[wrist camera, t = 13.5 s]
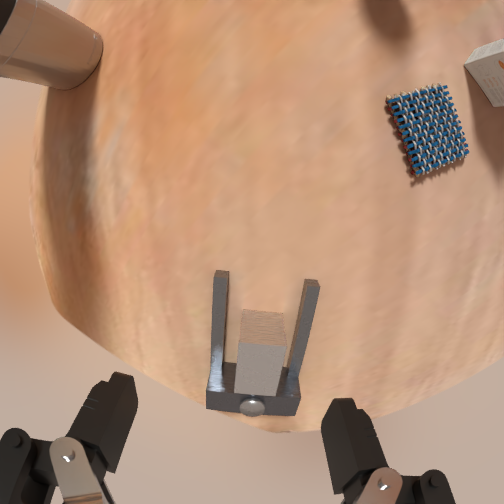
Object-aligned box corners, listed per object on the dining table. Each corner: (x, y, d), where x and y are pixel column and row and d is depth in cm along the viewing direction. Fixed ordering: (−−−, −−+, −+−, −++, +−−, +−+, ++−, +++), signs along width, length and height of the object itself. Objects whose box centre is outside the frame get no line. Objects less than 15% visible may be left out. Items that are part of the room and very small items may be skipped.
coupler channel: (212, 379, 39) (205, 413, 32) (216, 270, 33) (206, 296, 26) (291, 386, 39) (295, 420, 32) (317, 279, 33) (329, 307, 26)
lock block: (237, 359, 37) (233, 394, 31) (242, 308, 35) (238, 342, 28) (273, 362, 37) (274, 398, 31) (282, 312, 35) (286, 346, 28)
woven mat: (465, 155, 27) (474, 156, 26) (410, 179, 29) (418, 180, 27) (439, 82, 25) (447, 79, 23) (379, 97, 26) (386, 94, 24)
